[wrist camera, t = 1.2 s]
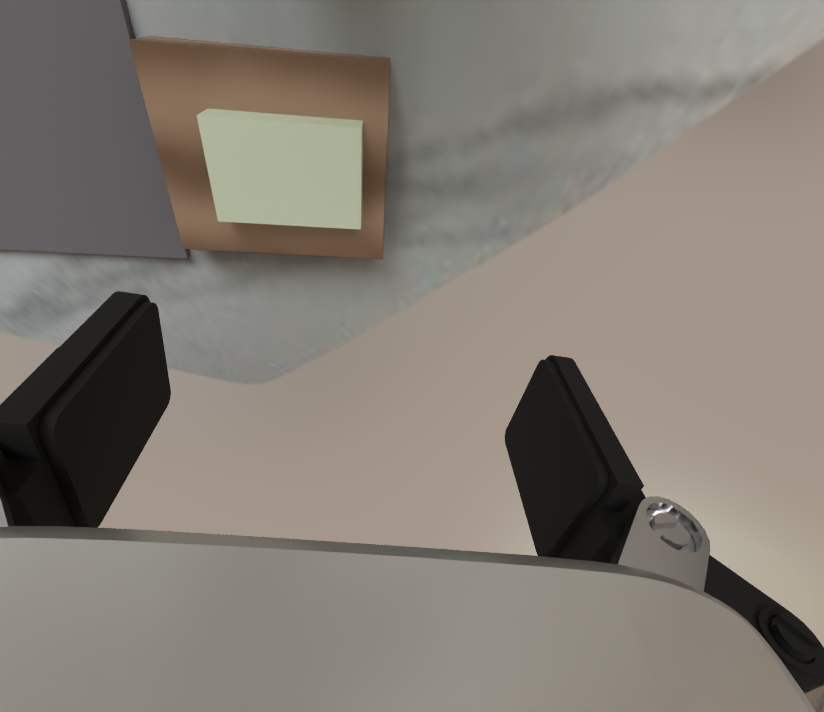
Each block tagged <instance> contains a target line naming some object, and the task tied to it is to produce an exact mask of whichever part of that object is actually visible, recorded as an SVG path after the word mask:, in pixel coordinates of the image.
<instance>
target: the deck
mask: <svg viewBox="0 0 824 712" xmlns="http://www.w3.org/2000/svg"><path fill="white" fill-rule="evenodd" d="M129 44H130V48H131V52H132V55H133V59H134V63H135V67H136V71H137V74H138V78H139V82H140V86H141V90H142V93H143V97H144V101H145V105H146V109H147V112H148V116H149V120H150V124H151V128H152V132H153V135H154V139H155V143H156V147H157V151H158V154H159V158H160V162H161V166H162V170H163V173H164V177H165V181H166V185H167V189H168V192H169V196H170V200H171V204H172V208H173V211H174V215H175V219H176V223H177V227H178V230H179V234H180V238H181V242H182V246H183V249H196V250H215V251H235V252H254V253H274V254H293V255H313V256H332V257H352V258H372V259H382V256H383V232H384V207H385V182H386V158H387V133H388V108H389V84H390V58H383V57H372V56H361V55H350V54H339V53H328V52H317V51H306V50H295V49H284V48H273V47H262V46H251V45H240V44H229V43H218V42H207V41H196V40H185V39H174V38H163V37H145V38H137V39H130V40H129ZM206 109H221V110H233V111H246V112H259V113H272V114H285V115H297V116H310V117H323V118H336V119H349V120H361V121H363V176H362V224H361V230H360V229H342V228H325V227H307V226H289V225H272V224H254V223H237V222H219V221H218V219H217V214H216V209H215V204H214V199H213V194H212V190H211V185H210V180H209V175H208V170H207V165H206V160H205V155H204V150H203V145H202V140H201V135H200V130H199V125H198V120H197V115H198V114H200V113H201V112H203V111H205V110H206Z"/></svg>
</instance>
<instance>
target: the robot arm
mask: <svg viewBox="0 0 824 712" xmlns="http://www.w3.org/2000/svg"><path fill="white" fill-rule="evenodd" d="M170 395H171V391H170V383H169V378H168V370H167V364H166V357H165V351H164V345H163V338H162V332H161V325H160V319H159V312H158V307H157V305H156V304H155V303H151V302H150V301H149V298H148V297H147V296H146V295H140V294H133V293H127V292H120V291H118V292H115V293H114V294H112V295H111V296H110V297H109V298H108V299H107V300H106V301H105V302H104V303H103V304H102V305H101V306H100V307H99V308H98V309H97V310H96V311H95V312H94V313H93V314H92V315H91V316H90V317H89V318H88V319H87V320H86V321H85V322H84V323H83V324H82V325H81V326H80V327H79V328H78V329H77V330H76V331H75V332H74V333H73V334H72V335H71V336H70V337H69V338H68V339H67V340H66V341H65V342H64V343H63V344H62V345H61V346H60V347H59V348H57V349H56V350H55V351H54V352H53V353H52V354H51V355H50V356H49V357H48V358H47V359H46V360H45V361H44V362H43V363H42V364H41V365H40V366H39V367H38V368H37V369H36V370H35V371H34V372H33V373H32V374H31V375H30V376H29V377H28V378H27V379H26V380H25V381H24V382H23V383H22V384H21V385H20V386H19V387H18V388H17V389H16V390H15V391H14V392H13V393H12V394H11V395H10V396H9V397H8V398H7V399H6V400H5V401H4V402H3V403H2V404H1V405H0V712H824V647H823V646H822V645H821V643H820V642H819V640H818V639H817V638H816V636H815V635H814V634H813V633H812V631H810V629H809V628H808V627H807V626H806V625H805V624H804V623H803V622H802V621H800V619H798V618H797V617H796V616H795V615H793V614H792V613H791V612H790V611H788V610H786V609H785V608H784V607H782V606H781V605H780V604H778V603H777V602H775V601H774V600H773V599H771V598H770V597H768V596H767V595H765V594H764V593H763V592H761V591H760V590H758V589H757V588H755V587H754V586H753V585H751V584H750V583H748V582H747V581H746V580H744V579H743V578H741V577H740V576H738V575H737V574H736V573H734V572H733V571H732V570H730V569H729V568H727V567H726V566H725V565H723V564H722V563H720V562H719V561H717V560H716V559H715V558H713V557H712V556H710V555H709V554H710V541H709V539H708V536H707V534H706V532H705V530H704V529H703V527H702V526H701V524H700V523H699V522H698V520H697V519H695V517H693V515H692V514H690V513H689V512H688V511H687V510H686V509H684V508H683V507H681V506H680V505H678V504H677V503H674V502H673V501H671V500H668V499H665V498H661V497H648V498H646V497H645V496H644V494H643V492H642V490H641V489H642V488H643V486H644V485H643V483H642V481H641V480H640V478H639V476H638V474H637V473H636V471H635V469H634V467H633V465H632V464H631V462H630V460H629V458H628V456H627V455H626V453H625V451H624V449H623V447H622V446H621V444H620V442H619V440H618V439H617V437H616V435H615V433H614V431H613V430H612V428H611V426H610V424H609V422H608V421H607V419H606V417H605V415H604V413H603V412H602V410H601V408H600V407H599V404H598V403H597V401H596V399H595V397H594V396H593V394H592V392H591V390H590V388H589V387H588V385H587V383H586V381H585V379H584V378H583V376H582V374H581V372H580V370H579V369H578V367H577V365H576V363H575V361H574V360H573V359H571V358H566V357H560V356H553V355H550V356H549V357H547V358H546V360H541V361H540V362H539V364H538V365H537V367H536V369H535V371H534V373H533V376H532V378H531V380H530V382H529V384H528V386H527V388H526V390H525V392H524V394H523V396H522V398H521V400H520V402H519V404H518V406H517V409H516V411H515V413H514V415H513V417H512V419H511V421H510V423H509V425H508V427H507V429H506V433H505V444H506V447H507V451H508V454H509V458H510V461H511V465H512V468H513V472H514V475H515V478H516V482H517V486H518V489H519V492H520V496H521V499H522V503H523V507H524V510H525V514H526V517H527V520H528V524H529V528H530V531H531V535H532V538H533V541H534V545H535V549H536V552H537V555H538V556H530V555H516V554H502V553H489V552H475V551H461V550H448V549H434V548H420V547H405V546H390V545H389V546H388V545H375V544H361V543H346V542H330V541H315V540H300V539H284V538H268V537H253V536H235V535H220V534H204V533H188V532H171V531H154V530H134V529H133V530H132V529H112V528H97V527H98V526H99V525H100V524H101V522H102V520H103V519H104V517H105V515H106V513H107V512H108V510H109V508H110V506H111V504H112V503H113V501H114V499H115V497H116V496H117V494H118V492H119V490H120V489H121V487H122V485H123V483H124V482H125V480H126V478H127V476H128V475H129V473H130V471H131V469H132V468H133V466H134V464H135V462H136V461H137V459H138V457H139V455H140V453H141V452H142V450H143V448H144V446H145V445H146V443H147V441H148V439H149V438H150V436H151V434H152V432H153V430H154V429H155V427H156V425H157V423H158V422H159V420H160V418H161V416H162V415H163V413H164V411H165V409H166V408H167V406H168V404H169V400H170Z"/></svg>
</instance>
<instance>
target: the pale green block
mask: <svg viewBox="0 0 824 712" xmlns="http://www.w3.org/2000/svg"><path fill="white" fill-rule="evenodd" d="M197 120H198V125H199V130H200V135H201V140H202V145H203V150H204V155H205V160H206V165H207V170H208V175H209V180H210V185H211V190H212V194H213V199H214V204H215V209H216V214H217V219H218V221H219V222H237V223H254V224H272V225H289V226H307V227H325V228H342V229H360V230H361V224H362V176H363V121H361V120H349V119H336V118H323V117H310V116H297V115H285V114H272V113H259V112H246V111H233V110H221V109H206V110H205V111H203V112H201V113H200V114H198V115H197Z"/></svg>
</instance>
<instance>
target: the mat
mask: <svg viewBox="0 0 824 712" xmlns="http://www.w3.org/2000/svg"><path fill="white" fill-rule="evenodd" d="M130 39H135V38H134V34H133V30H132V26H131V22H130V18H129V14H128V10H127V6H126V2H125V0H0V250H20V251H41V252H61V253H81V254H101V255H122V256H142V257H162V258H182V259H188V257H189V256H190V253H189V249H183V246H182V242H181V238H180V234H179V230H178V227H177V223H176V219H175V215H174V211H173V208H172V204H171V200H170V196H169V192H168V189H167V185H166V181H165V177H164V173H163V170H162V166H161V162H160V158H159V154H158V151H157V147H156V143H155V139H154V135H153V132H152V128H151V124H150V120H149V116H148V112H147V109H146V105H145V101H144V97H143V93H142V90H141V86H140V82H139V78H138V74H137V71H136V67H135V63H134V59H133V55H132V52H131V48H130V44H129V40H130Z"/></svg>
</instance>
